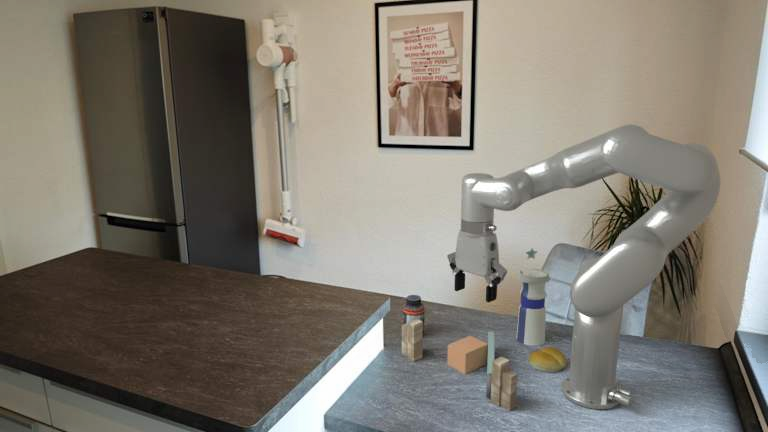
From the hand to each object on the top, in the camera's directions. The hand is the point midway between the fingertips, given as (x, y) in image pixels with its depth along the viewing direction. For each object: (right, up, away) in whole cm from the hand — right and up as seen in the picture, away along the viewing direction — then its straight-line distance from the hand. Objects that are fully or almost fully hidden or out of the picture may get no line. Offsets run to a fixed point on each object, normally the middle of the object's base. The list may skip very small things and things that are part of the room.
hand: (474, 295), depth 129 cm
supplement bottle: (-14, -14, +21) cm, 29 cm away
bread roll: (+19, -18, +4) cm, 27 cm away
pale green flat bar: (+4, -19, 0) cm, 19 cm away
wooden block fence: (-6, -19, -2) cm, 20 cm away
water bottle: (+18, -15, +18) cm, 29 cm away
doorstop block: (-1, -18, +5) cm, 19 cm away
